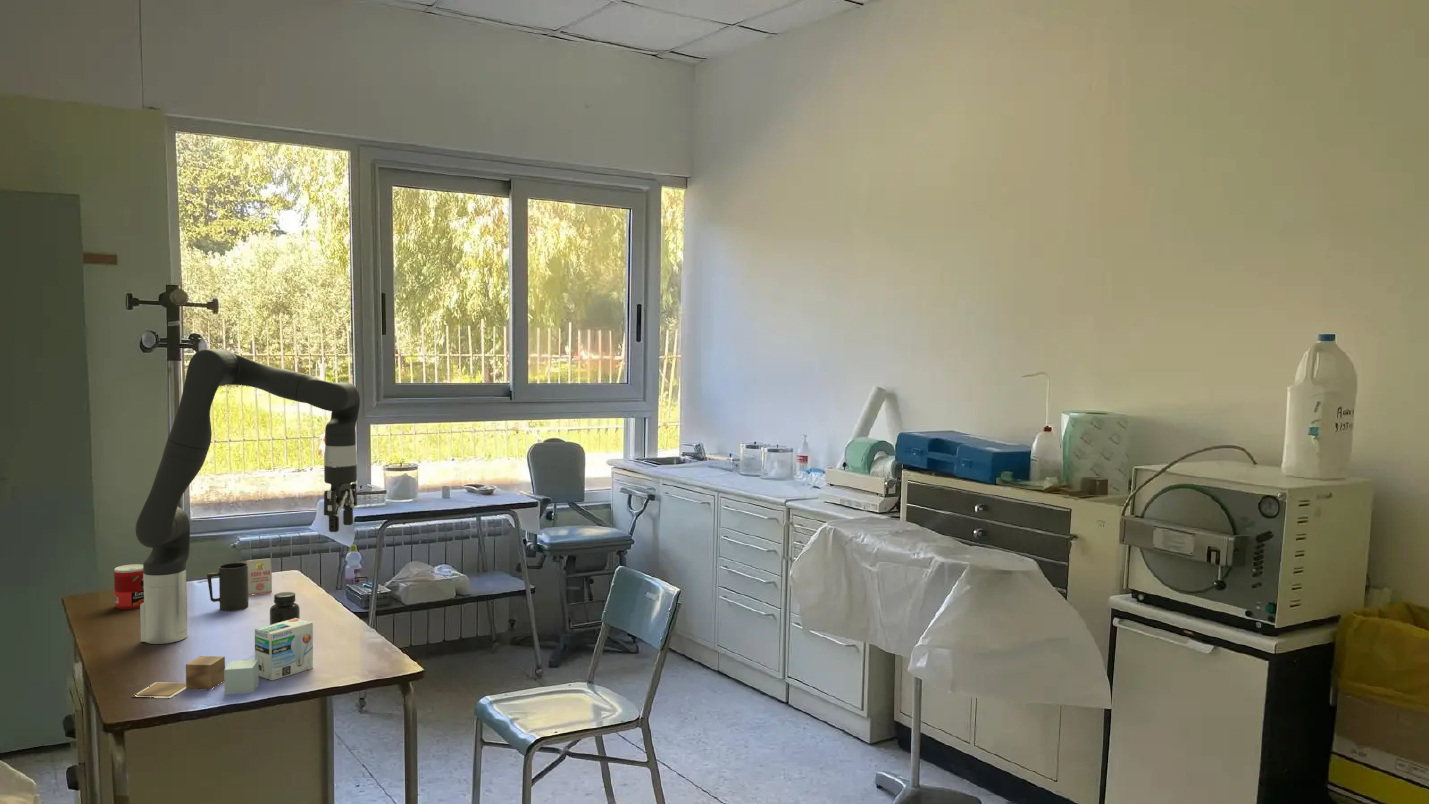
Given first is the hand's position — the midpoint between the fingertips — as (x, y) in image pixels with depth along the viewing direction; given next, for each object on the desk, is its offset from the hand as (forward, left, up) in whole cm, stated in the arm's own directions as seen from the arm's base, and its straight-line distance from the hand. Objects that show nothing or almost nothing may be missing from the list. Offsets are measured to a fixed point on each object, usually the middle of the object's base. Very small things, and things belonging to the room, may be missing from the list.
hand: (341, 528), depth 232 cm
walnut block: (-18, -30, -29) cm, 45 cm away
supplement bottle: (-15, 0, -29) cm, 33 cm away
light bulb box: (-5, -21, -29) cm, 36 cm away
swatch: (-25, -34, -29) cm, 51 cm away
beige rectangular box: (-44, +44, -29) cm, 69 cm away
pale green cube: (-9, -32, -29) cm, 44 cm away
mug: (-44, +27, -29) cm, 59 cm away
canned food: (-72, +28, -29) cm, 82 cm away
